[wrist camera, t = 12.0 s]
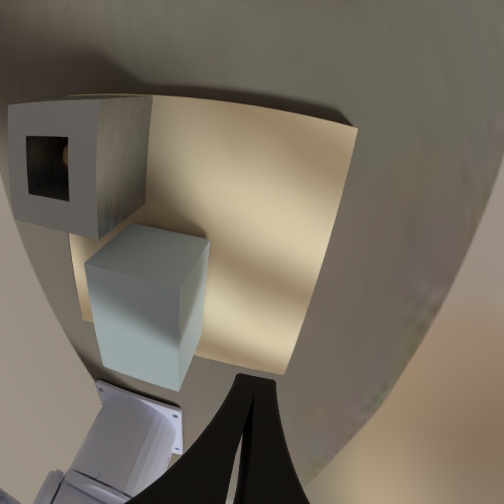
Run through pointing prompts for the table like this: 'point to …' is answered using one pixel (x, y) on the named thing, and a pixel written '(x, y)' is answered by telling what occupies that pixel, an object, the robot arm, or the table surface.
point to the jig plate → (241, 216)
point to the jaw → (79, 161)
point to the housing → (149, 302)
